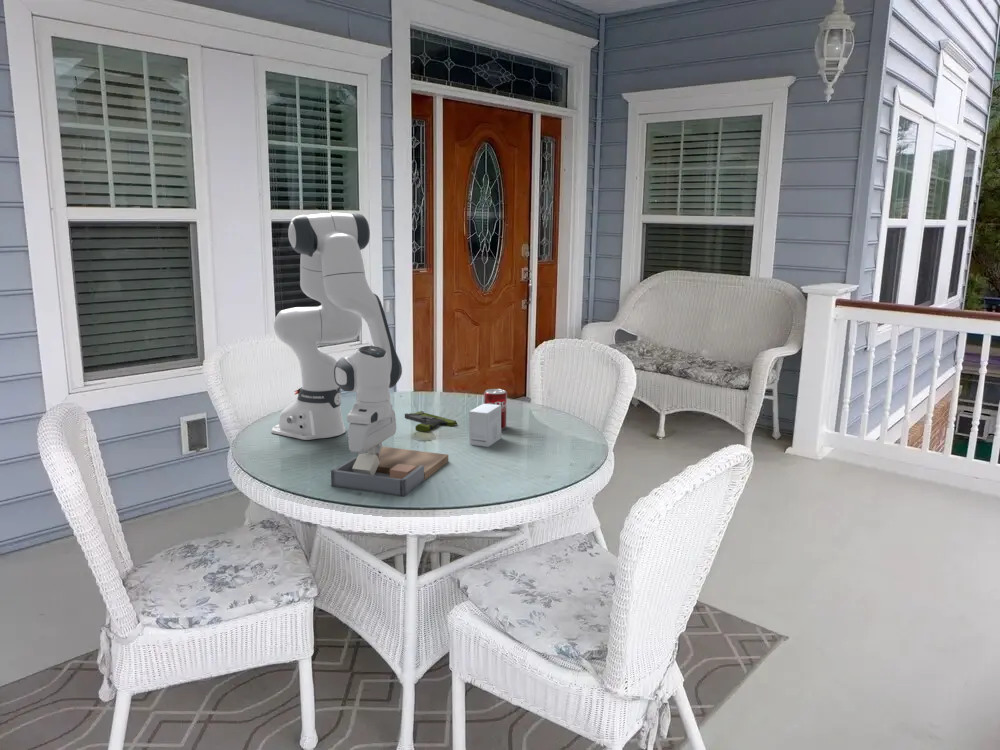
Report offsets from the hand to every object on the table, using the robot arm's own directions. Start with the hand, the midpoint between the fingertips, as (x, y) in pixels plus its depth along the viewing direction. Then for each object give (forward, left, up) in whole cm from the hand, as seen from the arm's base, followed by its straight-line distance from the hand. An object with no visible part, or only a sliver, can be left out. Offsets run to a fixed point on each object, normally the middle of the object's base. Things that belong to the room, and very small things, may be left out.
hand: (374, 460), depth 205 cm
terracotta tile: (+10, -4, -3) cm, 11 cm away
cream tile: (0, -4, -1) cm, 4 cm away
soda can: (+16, +52, -3) cm, 54 cm away
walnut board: (+5, +7, -3) cm, 9 cm away
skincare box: (+18, +37, -4) cm, 41 cm away
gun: (-7, +48, -4) cm, 49 cm away
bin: (+5, -8, -3) cm, 10 cm away
